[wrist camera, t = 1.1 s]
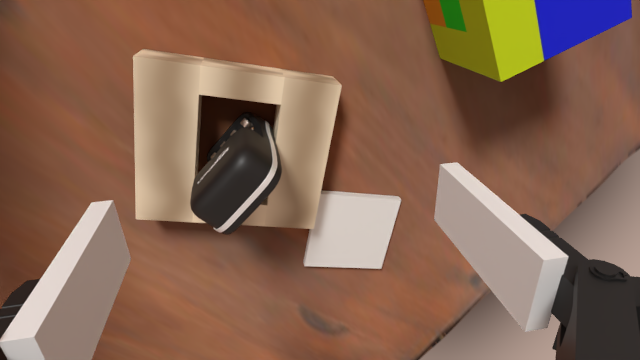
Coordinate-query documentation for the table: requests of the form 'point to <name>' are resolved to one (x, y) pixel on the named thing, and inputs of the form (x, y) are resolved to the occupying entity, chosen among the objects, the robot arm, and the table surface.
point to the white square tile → (351, 230)
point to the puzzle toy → (516, 30)
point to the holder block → (184, 133)
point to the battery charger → (237, 174)
